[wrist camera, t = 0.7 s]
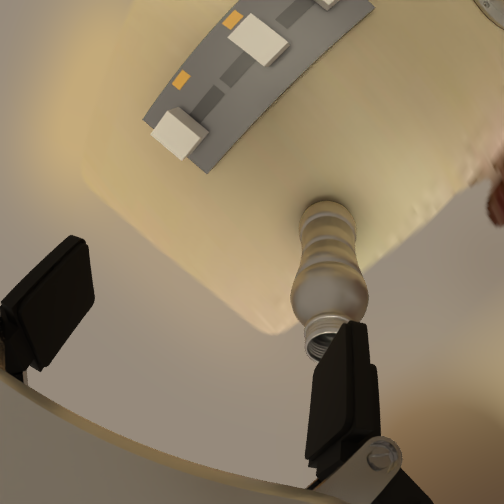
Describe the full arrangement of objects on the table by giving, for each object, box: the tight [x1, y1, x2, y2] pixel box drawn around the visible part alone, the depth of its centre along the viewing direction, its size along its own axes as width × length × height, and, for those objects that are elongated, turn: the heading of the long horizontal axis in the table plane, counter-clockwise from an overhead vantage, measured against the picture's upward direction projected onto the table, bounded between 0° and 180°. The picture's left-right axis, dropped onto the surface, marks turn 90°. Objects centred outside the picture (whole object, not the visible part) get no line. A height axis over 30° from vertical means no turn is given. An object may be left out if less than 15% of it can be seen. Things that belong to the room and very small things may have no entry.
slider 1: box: [150, 107, 209, 161], centre depth 31 cm, size 3×4×3 cm
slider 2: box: [227, 13, 290, 67], centre depth 25 cm, size 3×4×3 cm
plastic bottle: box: [290, 201, 369, 363], centre depth 29 cm, size 6×7×20 cm
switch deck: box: [143, 0, 375, 174], centre depth 28 cm, size 26×10×2 cm, turn 138°
